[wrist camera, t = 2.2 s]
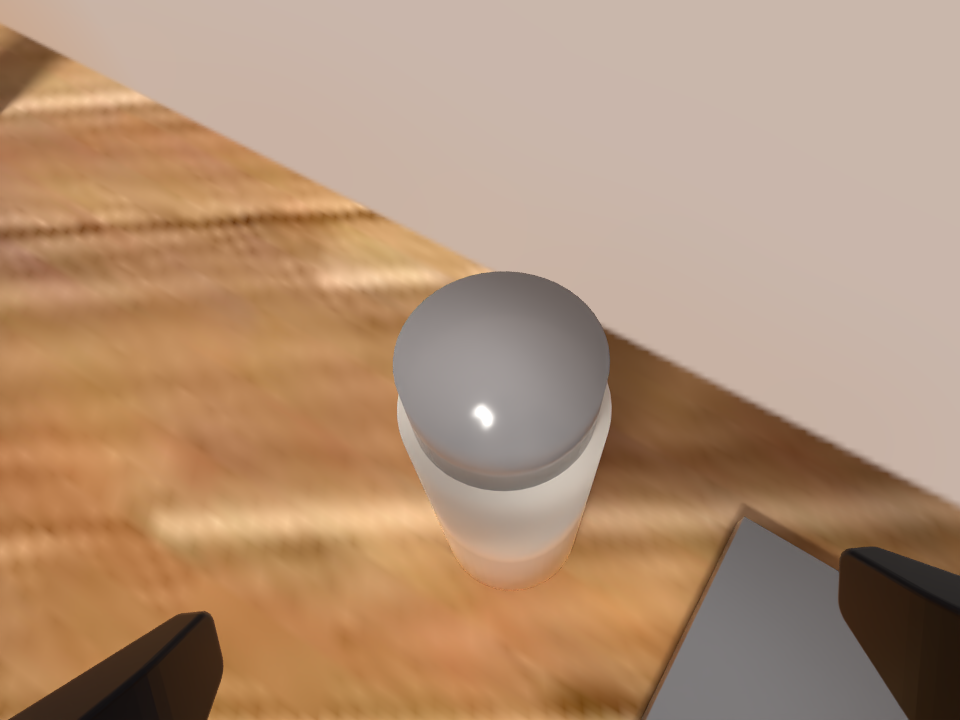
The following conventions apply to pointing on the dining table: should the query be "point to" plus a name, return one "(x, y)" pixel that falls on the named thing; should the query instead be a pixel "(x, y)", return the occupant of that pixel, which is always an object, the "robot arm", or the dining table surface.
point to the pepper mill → (505, 419)
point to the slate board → (770, 644)
